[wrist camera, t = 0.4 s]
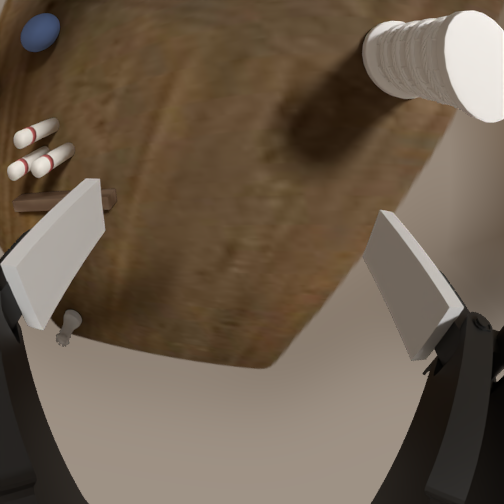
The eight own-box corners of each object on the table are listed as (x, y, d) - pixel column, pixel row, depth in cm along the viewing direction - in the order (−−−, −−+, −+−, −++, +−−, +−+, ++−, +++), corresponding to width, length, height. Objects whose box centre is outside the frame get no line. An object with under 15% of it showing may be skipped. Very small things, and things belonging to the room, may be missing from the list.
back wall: (21, 193, 39) (12, 201, 36) (115, 188, 40) (107, 196, 38) (24, 204, 40) (15, 211, 38) (117, 200, 41) (109, 209, 39)
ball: (38, 21, 23) (14, 20, 18) (69, 10, 24) (46, 5, 19) (36, 55, 27) (11, 58, 22) (66, 45, 27) (42, 45, 22)
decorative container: (432, 102, 33) (519, 134, 18) (363, 94, 33) (440, 117, 18) (430, 30, 26) (519, 30, 11) (358, 16, 27) (434, -11, 12)
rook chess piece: (81, 311, 55) (68, 339, 48) (83, 324, 57) (71, 352, 50) (64, 306, 54) (50, 332, 47) (67, 319, 56) (54, 345, 49)
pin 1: (38, 146, 35) (5, 165, 28) (49, 144, 35) (16, 163, 28) (40, 161, 36) (9, 181, 29) (51, 159, 36) (20, 180, 29)
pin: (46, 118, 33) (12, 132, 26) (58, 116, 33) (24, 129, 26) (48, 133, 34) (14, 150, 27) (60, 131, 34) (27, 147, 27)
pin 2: (61, 142, 35) (29, 161, 28) (74, 141, 35) (42, 159, 28) (63, 158, 37) (32, 178, 29) (76, 156, 37) (45, 177, 30)
